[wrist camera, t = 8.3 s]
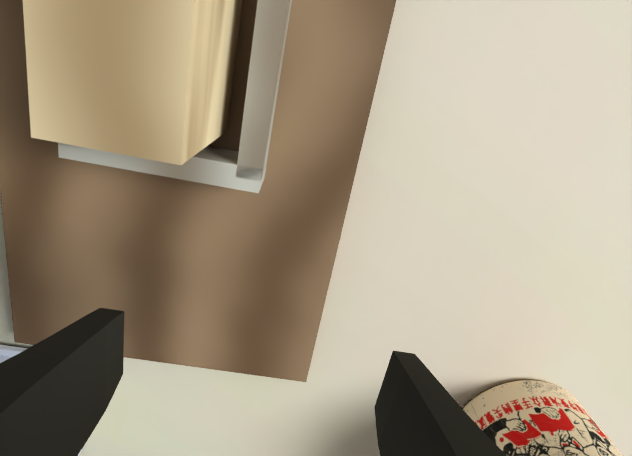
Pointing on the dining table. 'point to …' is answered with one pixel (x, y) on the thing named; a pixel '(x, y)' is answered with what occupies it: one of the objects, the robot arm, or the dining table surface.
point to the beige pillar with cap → (131, 74)
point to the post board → (201, 200)
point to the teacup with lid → (538, 421)
